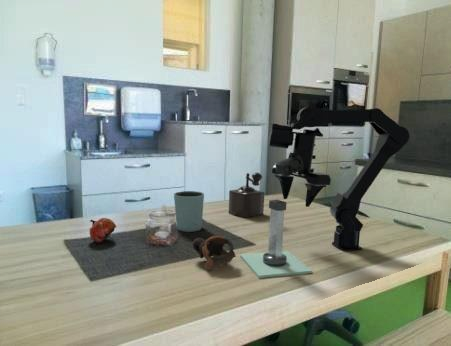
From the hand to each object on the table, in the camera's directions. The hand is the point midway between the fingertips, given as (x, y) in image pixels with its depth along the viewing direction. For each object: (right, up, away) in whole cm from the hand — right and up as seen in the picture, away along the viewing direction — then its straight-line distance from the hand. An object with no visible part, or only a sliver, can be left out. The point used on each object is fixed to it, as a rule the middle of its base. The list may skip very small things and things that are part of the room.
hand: (295, 202), depth 106 cm
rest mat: (-8, -15, -14) cm, 22 cm away
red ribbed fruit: (-57, -12, 0) cm, 58 cm away
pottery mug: (-24, -15, -14) cm, 32 cm away
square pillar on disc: (-8, -14, -14) cm, 22 cm away
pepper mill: (-11, -8, +36) cm, 38 cm away
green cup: (-34, -10, +16) cm, 38 cm away
